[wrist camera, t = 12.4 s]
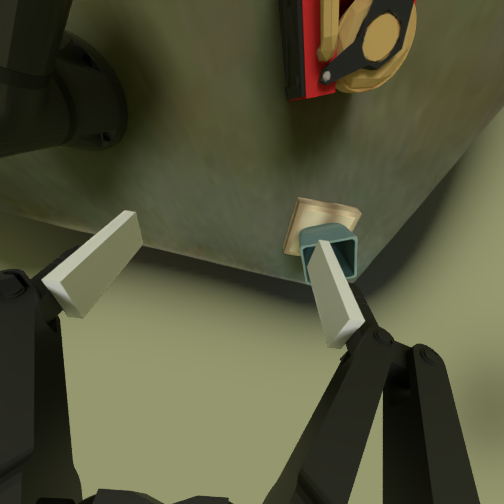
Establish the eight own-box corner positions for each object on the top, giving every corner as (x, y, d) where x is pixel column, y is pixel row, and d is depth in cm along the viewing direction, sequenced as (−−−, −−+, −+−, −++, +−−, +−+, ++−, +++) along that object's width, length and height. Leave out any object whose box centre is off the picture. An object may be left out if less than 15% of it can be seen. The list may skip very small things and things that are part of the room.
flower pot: (341, 210, 37) (358, 236, 30) (342, 248, 42) (357, 278, 35) (293, 220, 39) (299, 247, 32) (299, 255, 44) (306, 285, 37)
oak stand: (283, 245, 47) (283, 254, 44) (297, 196, 40) (299, 203, 37) (332, 254, 47) (336, 262, 45) (356, 207, 40) (362, 214, 38)
